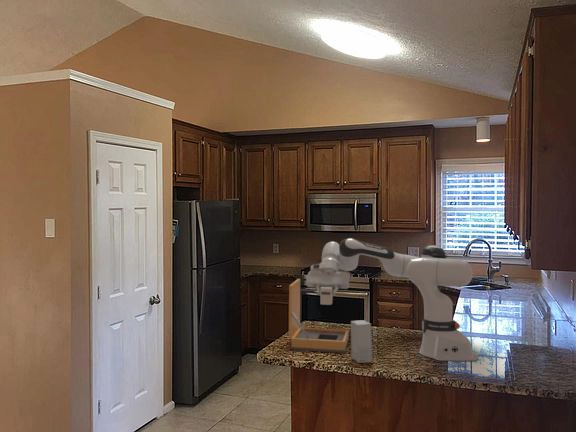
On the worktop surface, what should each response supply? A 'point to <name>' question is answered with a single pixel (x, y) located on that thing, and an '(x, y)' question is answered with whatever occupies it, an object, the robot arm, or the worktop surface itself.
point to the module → (326, 295)
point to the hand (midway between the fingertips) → (326, 294)
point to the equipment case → (312, 329)
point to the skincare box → (361, 341)
